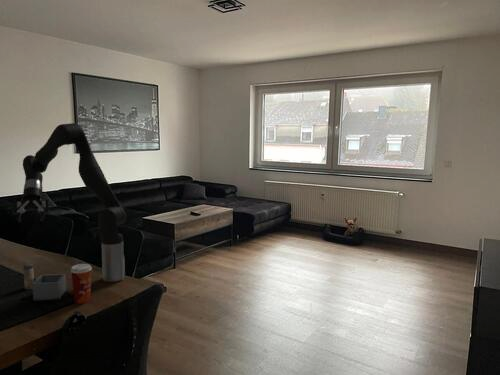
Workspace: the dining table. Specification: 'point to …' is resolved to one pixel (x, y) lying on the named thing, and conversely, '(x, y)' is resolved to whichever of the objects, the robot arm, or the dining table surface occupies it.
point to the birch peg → (28, 276)
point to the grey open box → (49, 287)
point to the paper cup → (81, 282)
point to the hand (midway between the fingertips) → (30, 220)
